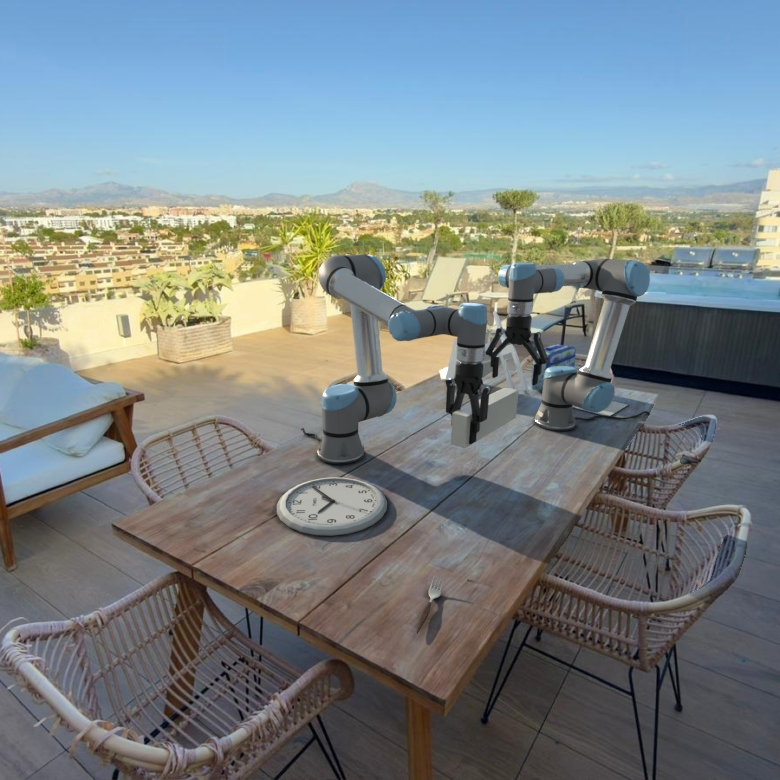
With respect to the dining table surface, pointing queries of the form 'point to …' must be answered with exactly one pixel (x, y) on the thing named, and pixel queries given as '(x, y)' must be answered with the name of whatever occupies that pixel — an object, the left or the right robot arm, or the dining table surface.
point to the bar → (498, 415)
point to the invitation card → (609, 408)
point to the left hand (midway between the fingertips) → (464, 439)
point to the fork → (433, 594)
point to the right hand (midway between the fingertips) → (514, 380)
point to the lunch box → (555, 361)
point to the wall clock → (331, 506)
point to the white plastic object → (504, 356)
